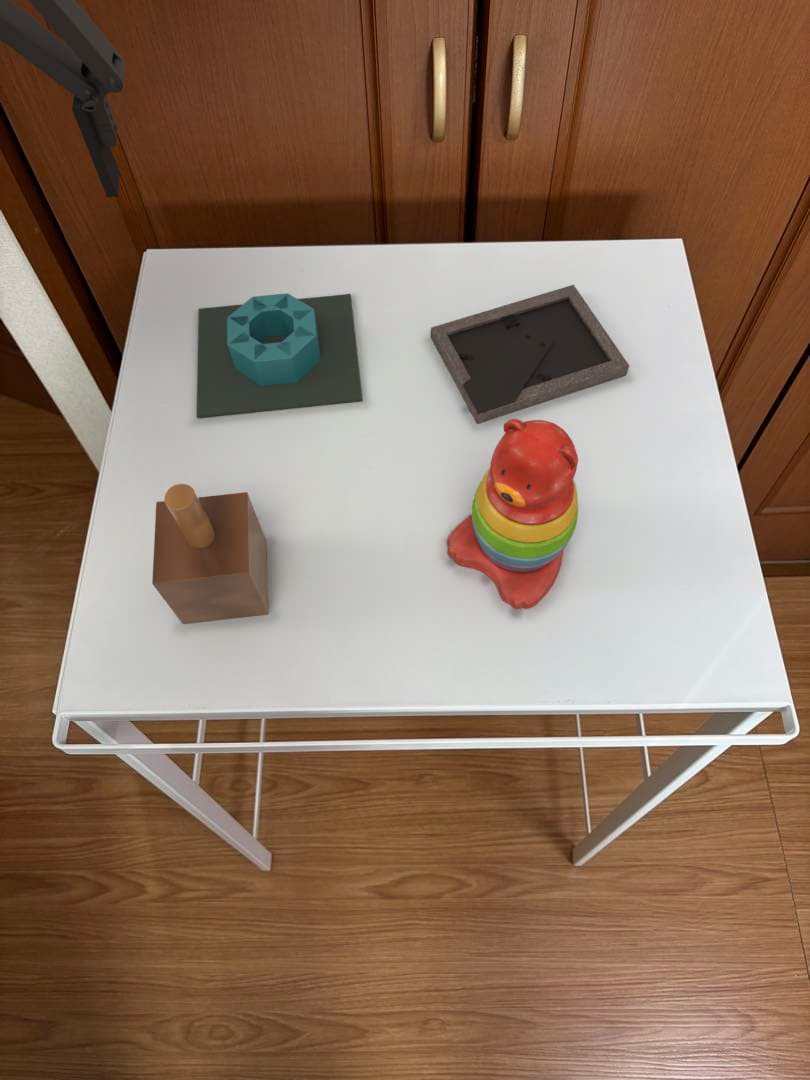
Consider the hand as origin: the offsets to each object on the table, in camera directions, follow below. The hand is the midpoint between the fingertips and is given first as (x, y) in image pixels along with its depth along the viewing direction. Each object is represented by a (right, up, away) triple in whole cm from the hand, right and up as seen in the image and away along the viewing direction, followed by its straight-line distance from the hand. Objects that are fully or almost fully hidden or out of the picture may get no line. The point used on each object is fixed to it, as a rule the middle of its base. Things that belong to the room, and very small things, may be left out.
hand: (19, 193), depth 55 cm
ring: (+14, -4, +30) cm, 33 cm away
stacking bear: (+39, -26, +18) cm, 50 cm away
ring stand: (+11, -29, +17) cm, 36 cm away
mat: (+14, -4, +30) cm, 34 cm away
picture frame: (+42, -5, +30) cm, 52 cm away
